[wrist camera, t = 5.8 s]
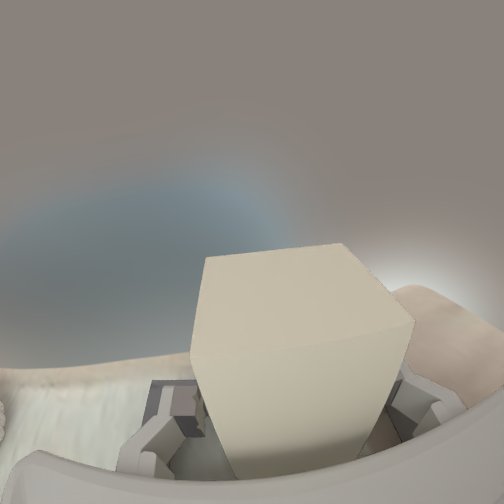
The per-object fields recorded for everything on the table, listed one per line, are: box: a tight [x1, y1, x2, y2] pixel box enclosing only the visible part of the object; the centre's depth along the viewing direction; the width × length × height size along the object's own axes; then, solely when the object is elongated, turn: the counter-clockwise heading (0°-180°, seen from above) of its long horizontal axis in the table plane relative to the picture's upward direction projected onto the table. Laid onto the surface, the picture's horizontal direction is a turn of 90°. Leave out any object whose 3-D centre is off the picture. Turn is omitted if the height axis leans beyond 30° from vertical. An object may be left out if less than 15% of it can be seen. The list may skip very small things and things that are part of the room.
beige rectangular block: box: [189, 243, 416, 480], centre depth 10 cm, size 5×5×12 cm
